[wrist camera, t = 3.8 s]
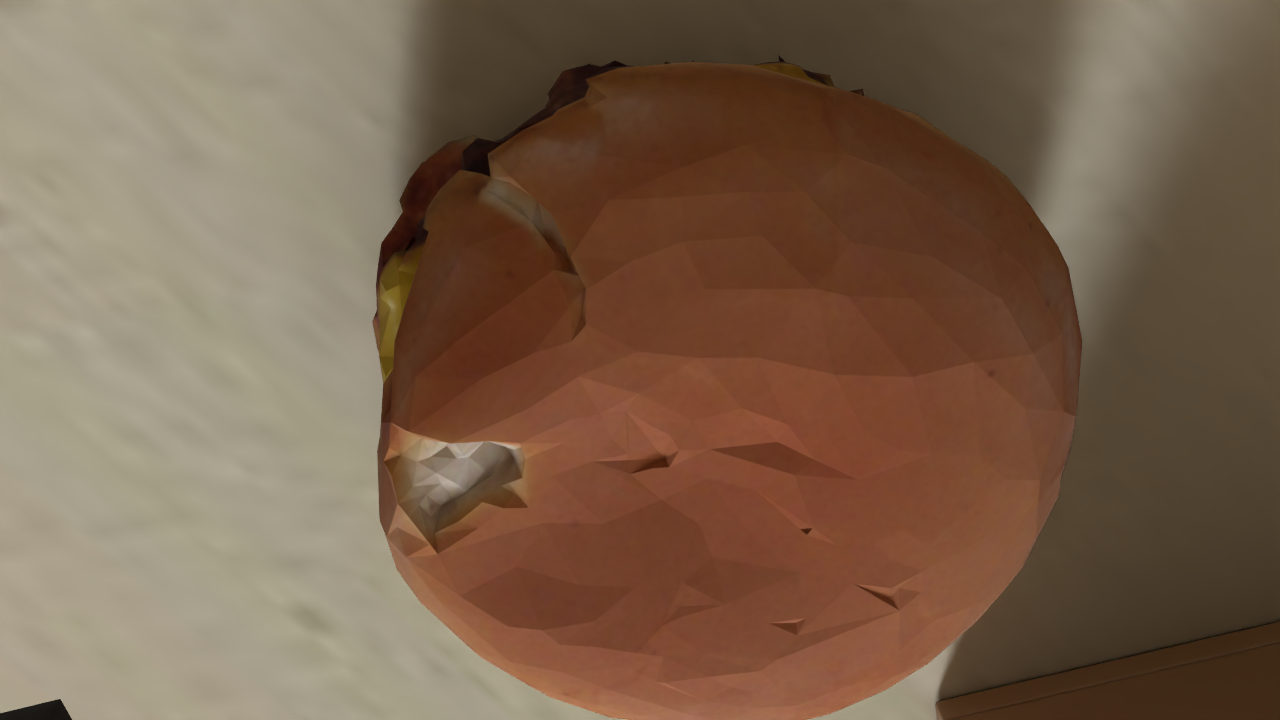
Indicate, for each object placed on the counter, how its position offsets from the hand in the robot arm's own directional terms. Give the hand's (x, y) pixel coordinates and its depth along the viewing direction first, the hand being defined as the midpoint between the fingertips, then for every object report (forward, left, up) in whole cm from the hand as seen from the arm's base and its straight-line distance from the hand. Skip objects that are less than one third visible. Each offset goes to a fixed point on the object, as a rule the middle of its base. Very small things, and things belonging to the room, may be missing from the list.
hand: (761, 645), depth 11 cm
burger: (0, 0, -7) cm, 7 cm away
